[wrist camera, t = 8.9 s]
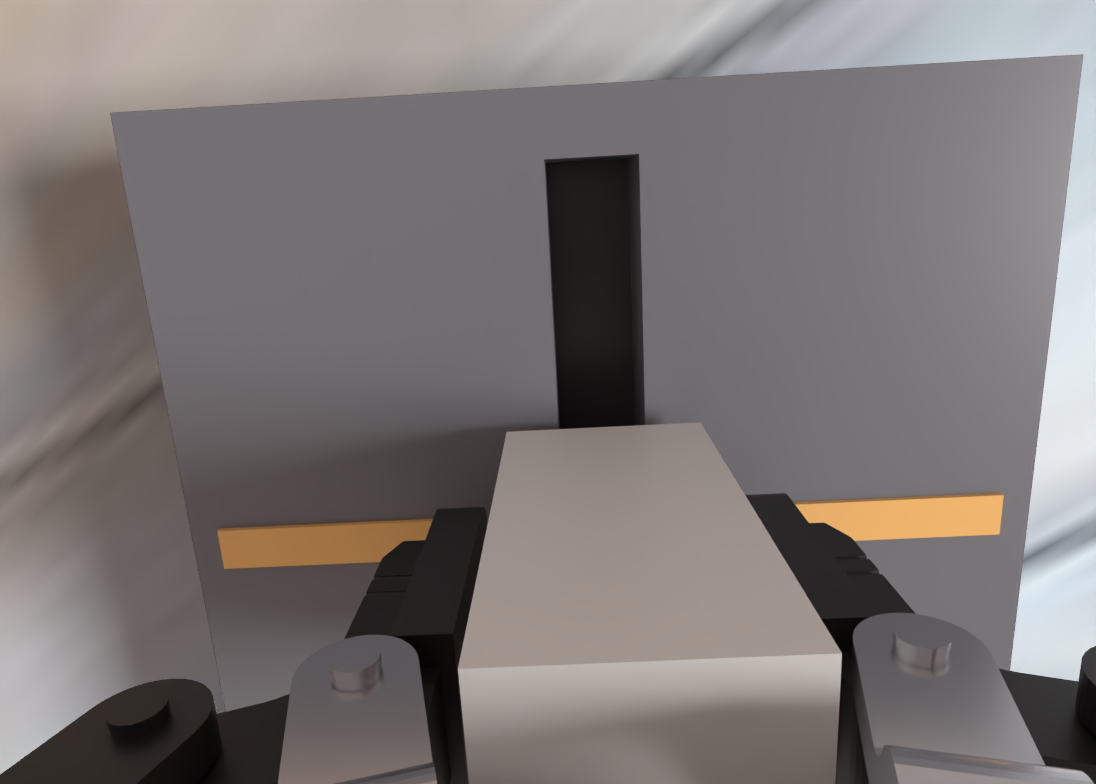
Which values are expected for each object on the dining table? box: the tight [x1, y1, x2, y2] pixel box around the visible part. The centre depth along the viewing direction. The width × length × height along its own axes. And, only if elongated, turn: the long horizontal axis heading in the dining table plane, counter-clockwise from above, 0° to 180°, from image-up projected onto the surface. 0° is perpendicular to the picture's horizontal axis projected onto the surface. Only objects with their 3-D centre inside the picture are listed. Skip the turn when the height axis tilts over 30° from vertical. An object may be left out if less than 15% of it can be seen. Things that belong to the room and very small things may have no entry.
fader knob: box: [458, 422, 842, 784], centre depth 10 cm, size 4×3×8 cm
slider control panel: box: [110, 54, 1083, 712], centre depth 16 cm, size 23×14×5 cm, turn 3°
